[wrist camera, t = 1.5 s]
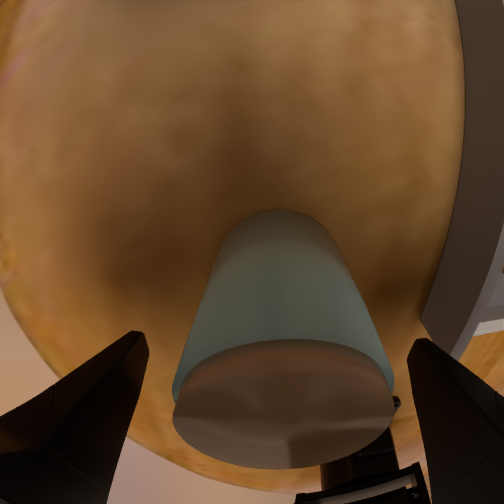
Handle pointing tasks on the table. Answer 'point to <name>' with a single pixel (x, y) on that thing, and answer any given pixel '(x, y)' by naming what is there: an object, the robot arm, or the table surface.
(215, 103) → the table surface
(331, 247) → the jar
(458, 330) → the gray rectangular tray
